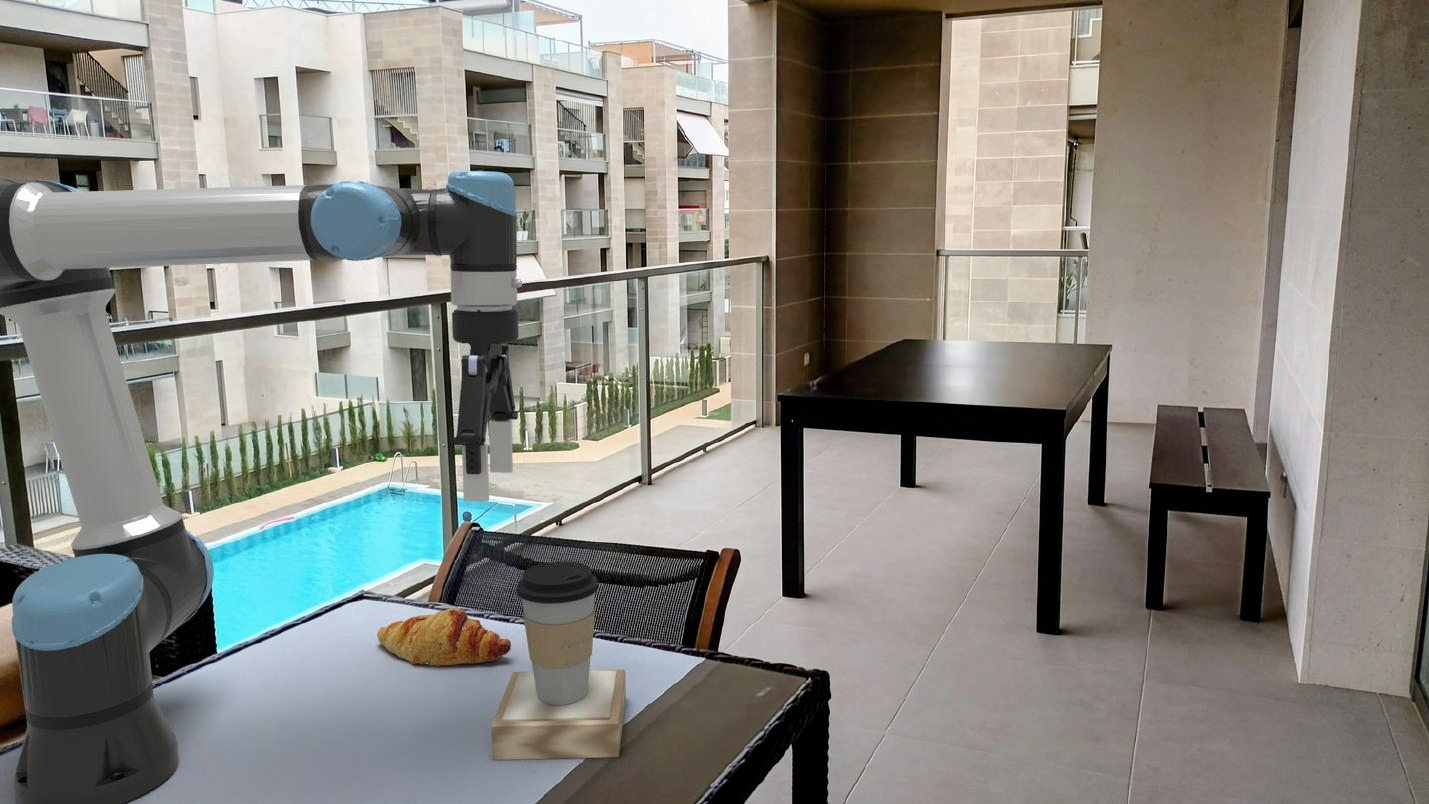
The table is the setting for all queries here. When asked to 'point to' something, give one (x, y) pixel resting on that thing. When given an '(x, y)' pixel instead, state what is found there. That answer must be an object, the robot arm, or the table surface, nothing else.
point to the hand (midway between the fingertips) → (489, 485)
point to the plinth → (560, 720)
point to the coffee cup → (559, 628)
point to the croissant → (443, 639)
